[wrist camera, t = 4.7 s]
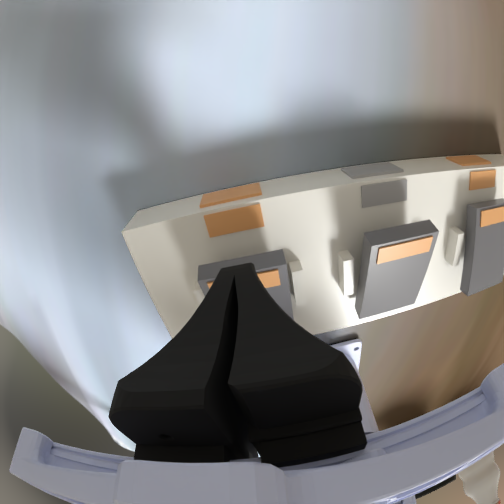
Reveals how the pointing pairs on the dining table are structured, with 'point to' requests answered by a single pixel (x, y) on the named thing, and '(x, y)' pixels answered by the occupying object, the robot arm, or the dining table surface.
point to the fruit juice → (482, 480)
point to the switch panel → (313, 232)
